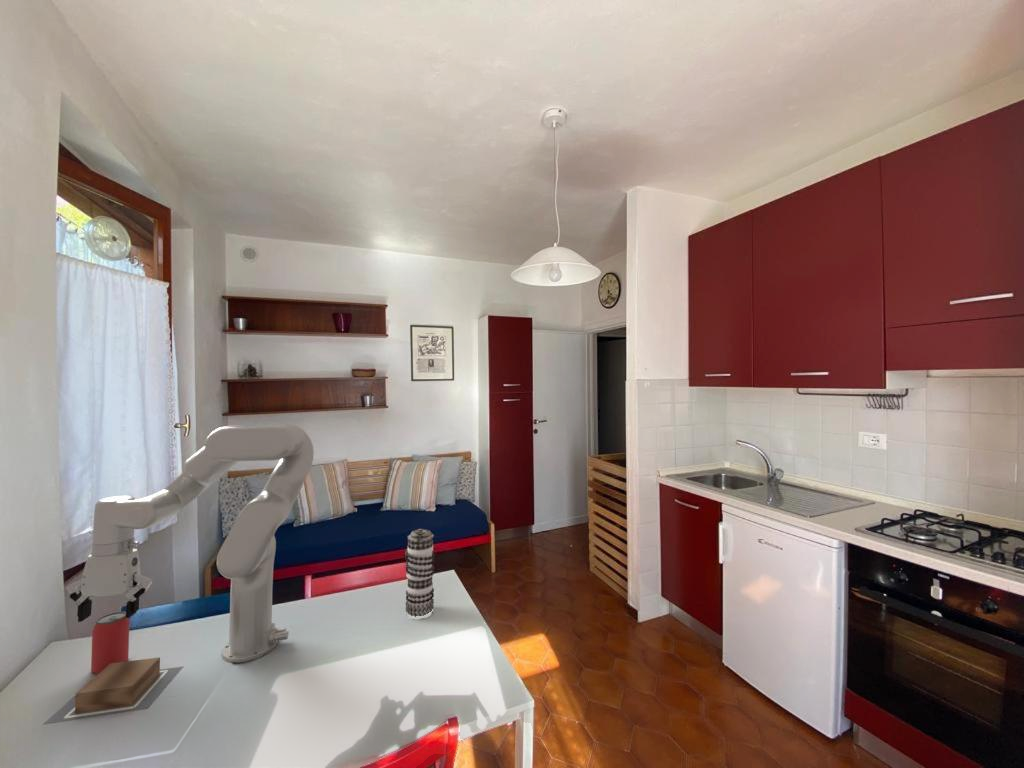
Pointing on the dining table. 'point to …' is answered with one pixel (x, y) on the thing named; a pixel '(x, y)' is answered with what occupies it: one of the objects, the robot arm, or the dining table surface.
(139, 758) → the dining table surface
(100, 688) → the walnut base block
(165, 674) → the grey mat
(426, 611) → the decorative candle
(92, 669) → the beer can
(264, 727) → the dining table surface
